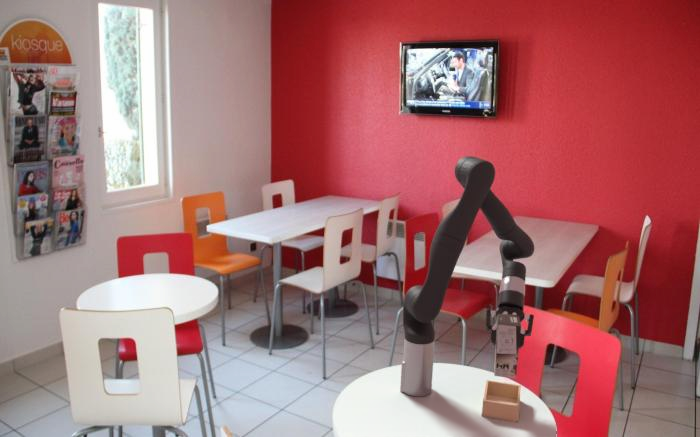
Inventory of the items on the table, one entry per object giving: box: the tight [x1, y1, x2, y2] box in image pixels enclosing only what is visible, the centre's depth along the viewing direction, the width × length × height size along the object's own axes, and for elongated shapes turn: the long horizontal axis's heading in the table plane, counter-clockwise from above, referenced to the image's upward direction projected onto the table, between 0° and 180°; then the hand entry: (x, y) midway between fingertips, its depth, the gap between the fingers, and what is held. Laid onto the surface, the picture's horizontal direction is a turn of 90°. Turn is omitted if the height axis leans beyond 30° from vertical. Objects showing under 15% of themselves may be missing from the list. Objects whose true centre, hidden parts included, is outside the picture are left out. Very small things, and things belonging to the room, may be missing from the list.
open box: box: [481, 379, 522, 423], centre depth 188 cm, size 10×13×5 cm
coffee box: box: [493, 314, 522, 379], centre depth 184 cm, size 9×6×16 cm
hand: (506, 345), depth 184 cm, fingers closed on coffee box, 6 cm apart
